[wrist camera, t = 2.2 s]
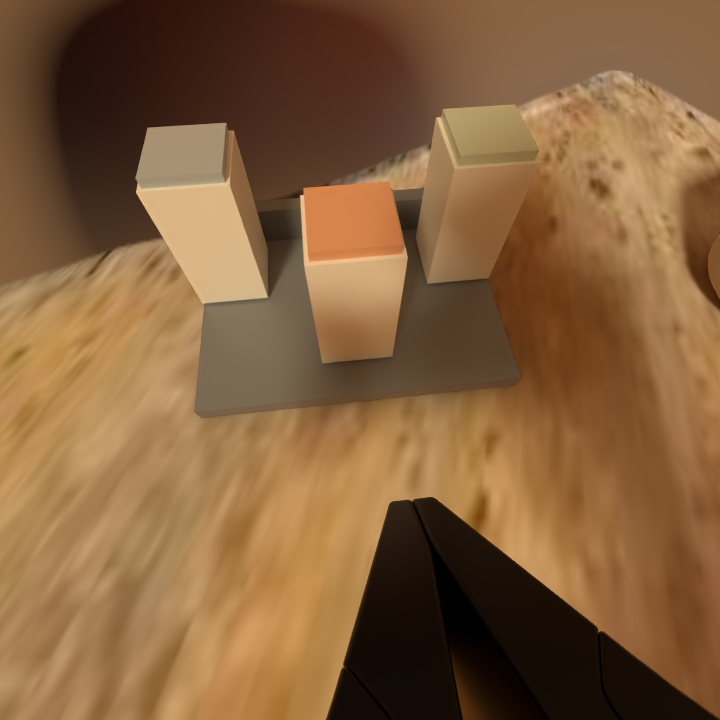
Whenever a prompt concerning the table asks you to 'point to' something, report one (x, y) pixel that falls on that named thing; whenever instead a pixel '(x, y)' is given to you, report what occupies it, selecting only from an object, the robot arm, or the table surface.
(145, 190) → the key
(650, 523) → the table surface
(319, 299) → the key
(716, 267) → the teacup
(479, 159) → the beige upright block
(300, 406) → the keypad board
